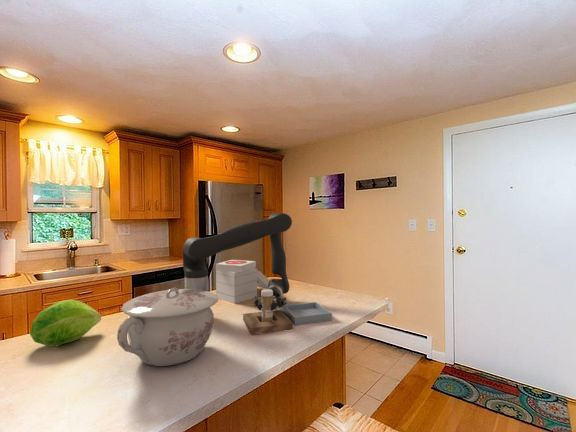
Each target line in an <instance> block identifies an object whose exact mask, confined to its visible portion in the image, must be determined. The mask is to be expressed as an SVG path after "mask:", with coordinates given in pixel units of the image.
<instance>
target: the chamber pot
mask: <svg viewBox="0 0 576 432" xmlns="http://www.w3.org/2000/svg"><path fill="white" fill-rule="evenodd" d="M218 301H219V299H218V297H217V296H216V293H213V292H210V291H208V292H207V291H203V290H195V289H185V288H177V287H175V286H174V287H171V288H170V289H166V290H159V291H154V292H149V294H146V293H145V294H143V295H139V296H136V297H134V298H132V299H129V300H128V301H126V302H124V303H123V304H122V307H121V308H120V310H121V311H122V312H123V314H125V315H127V316H126V318H125V319H124V320H123V322H121V324H120V325H119V327H118V329H117V333H116V334H117V336H116V338H117V343H118V345H119V346H120V348H122V350H124V351H125V352H127V353H131V354H134V355H135V356H137V357H138V358H139V360H140V361H142V362H143V363H145V364H147V365H150V366H155V367H168V366H173V365H180V364H181V363H185V362H188V361H190V360H192V359H193V358H195V357H197V356H199V354H200V353H201V352H202V351H203V350H204V348H205V346H206V344H207V343H208V341H209V339H210V337H211V335H212V332H213V326H214V322H215V321H214V319H215V317H214V315H215V314H214V312H213V309H212V308H211V307H213V306H215V305H216V304H217V302H218ZM130 316H131V317H130Z"/></svg>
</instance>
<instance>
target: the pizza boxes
mask: <svg viewBox="0 0 576 432" xmlns="http://www.w3.org/2000/svg"><path fill="white" fill-rule="evenodd" d="M256 266H257V262H256V261H255V260H245V259H242V260H241V259H230V260H226V261H221V262H219V263H218V262H217V263H215V272H216V273H215V295H216V296H217V297H218V300H222V301H225V302H228V303H231V304H234V305H235V304H238V303H242V302H245V301H249V300H251V299H254V297H255V296H256V297H258V288H262V289H268V283H269V281H270V280H271V279H268V277H266V276H265V274H263V273H262V272H261V271H260V270H258V268H257V267H256Z"/></svg>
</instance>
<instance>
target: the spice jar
mask: <svg viewBox="0 0 576 432" xmlns="http://www.w3.org/2000/svg"><path fill="white" fill-rule="evenodd" d="M260 295H261V297H262V308H261V312H262V322H269V321H274V320H273V311H274V310H271V305H272V303H273V302H272V295H273V290H271V289H265V288H263V289H261V292H260Z"/></svg>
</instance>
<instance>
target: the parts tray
mask: <svg viewBox="0 0 576 432" xmlns="http://www.w3.org/2000/svg"><path fill="white" fill-rule="evenodd" d="M281 308H282V309H281V311H282V312H283V313H284V314H285V315H286V316H287V317H288V318H289V319H290V320H291V321H292V322H293V326H298V325H306V324H315V323H322V322H330V321H332V318H333V313H332V312H331V311H329V310H328V309H327V308H325V307H324V306H322V305H321V304H320V303H318V302H317V301H313V302H301V303H291V304H285V305H284V306H283V307H281Z"/></svg>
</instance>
